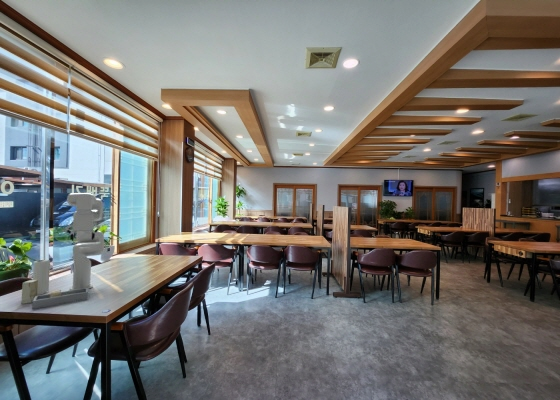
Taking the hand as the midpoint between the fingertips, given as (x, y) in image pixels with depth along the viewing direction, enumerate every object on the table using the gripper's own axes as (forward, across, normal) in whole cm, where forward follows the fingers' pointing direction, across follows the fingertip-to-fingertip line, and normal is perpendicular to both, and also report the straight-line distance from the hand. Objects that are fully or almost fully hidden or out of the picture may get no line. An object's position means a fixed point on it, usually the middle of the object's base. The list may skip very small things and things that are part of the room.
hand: (82, 240), depth 150 cm
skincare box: (+36, +23, -13) cm, 45 cm away
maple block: (+34, +11, -1) cm, 36 cm away
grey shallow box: (+36, +8, -1) cm, 37 cm away
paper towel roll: (+36, +20, -28) cm, 50 cm away
